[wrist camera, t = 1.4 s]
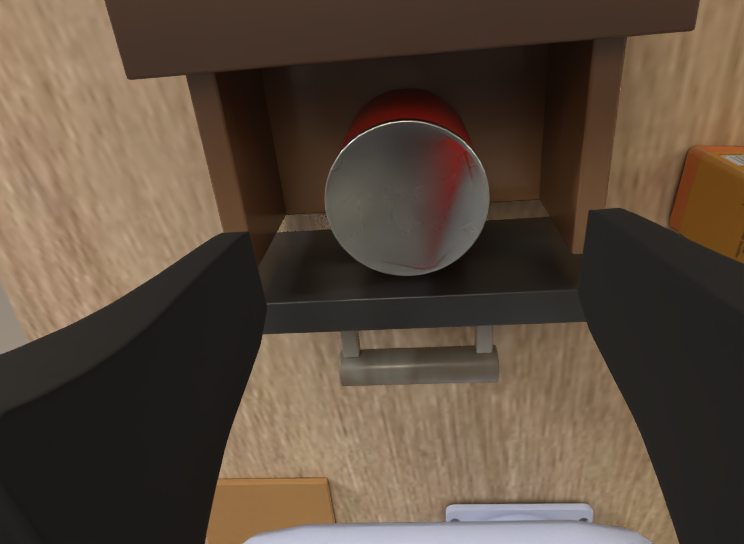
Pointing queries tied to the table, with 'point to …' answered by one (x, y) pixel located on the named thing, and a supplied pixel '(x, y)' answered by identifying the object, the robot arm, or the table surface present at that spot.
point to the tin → (407, 185)
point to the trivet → (266, 507)
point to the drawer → (502, 167)
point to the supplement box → (712, 199)
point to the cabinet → (362, 29)
